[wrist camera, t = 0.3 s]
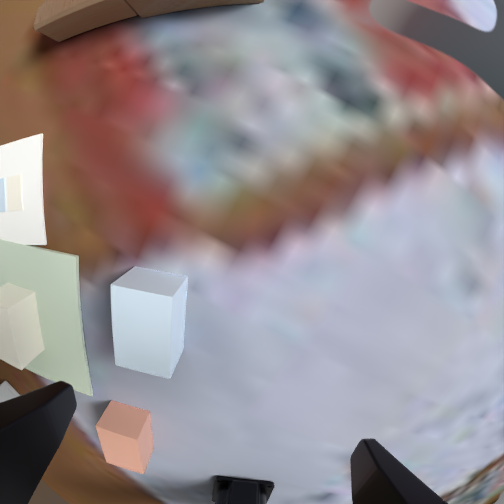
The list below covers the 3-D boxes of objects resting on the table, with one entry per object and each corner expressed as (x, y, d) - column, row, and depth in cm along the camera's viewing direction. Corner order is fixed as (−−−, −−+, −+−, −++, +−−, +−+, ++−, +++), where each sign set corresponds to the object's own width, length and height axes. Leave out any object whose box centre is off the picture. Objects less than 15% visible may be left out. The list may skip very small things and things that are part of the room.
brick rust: (154, 447, 25) (144, 474, 21) (119, 436, 25) (106, 462, 21) (150, 410, 24) (137, 439, 20) (112, 399, 24) (95, 425, 20)
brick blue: (183, 348, 22) (170, 378, 18) (135, 337, 22) (115, 364, 18) (188, 275, 20) (172, 296, 17) (135, 265, 20) (110, 284, 17)
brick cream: (44, 349, 22) (21, 370, 18) (17, 337, 22) (-6, 355, 18) (35, 291, 21) (6, 309, 17) (7, 282, 21) (-20, 297, 17)
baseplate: (93, 394, 24) (91, 396, 23) (0, 352, 24) (-2, 354, 23) (78, 255, 20) (75, 256, 20) (-20, 233, 20) (-23, 234, 20)
